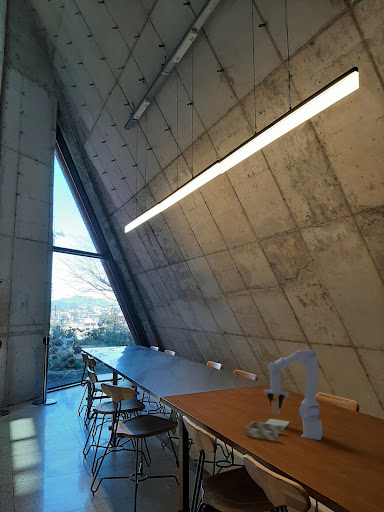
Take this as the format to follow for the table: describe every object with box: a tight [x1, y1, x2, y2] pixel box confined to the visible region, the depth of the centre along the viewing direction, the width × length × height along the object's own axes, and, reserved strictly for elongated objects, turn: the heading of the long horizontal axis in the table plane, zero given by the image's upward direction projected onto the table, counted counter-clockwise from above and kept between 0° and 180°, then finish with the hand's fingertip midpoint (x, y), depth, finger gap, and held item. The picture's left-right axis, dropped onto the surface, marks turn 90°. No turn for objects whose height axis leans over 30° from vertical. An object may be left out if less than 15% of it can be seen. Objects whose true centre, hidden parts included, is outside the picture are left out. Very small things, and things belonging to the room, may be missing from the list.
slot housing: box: [244, 421, 285, 442], centre depth 188 cm, size 17×13×4 cm
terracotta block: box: [270, 398, 281, 415], centre depth 207 cm, size 4×4×7 cm
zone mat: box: [265, 418, 291, 429], centre depth 207 cm, size 12×12×1 cm
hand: (276, 407), depth 208 cm, fingers closed on terracotta block, 4 cm apart
